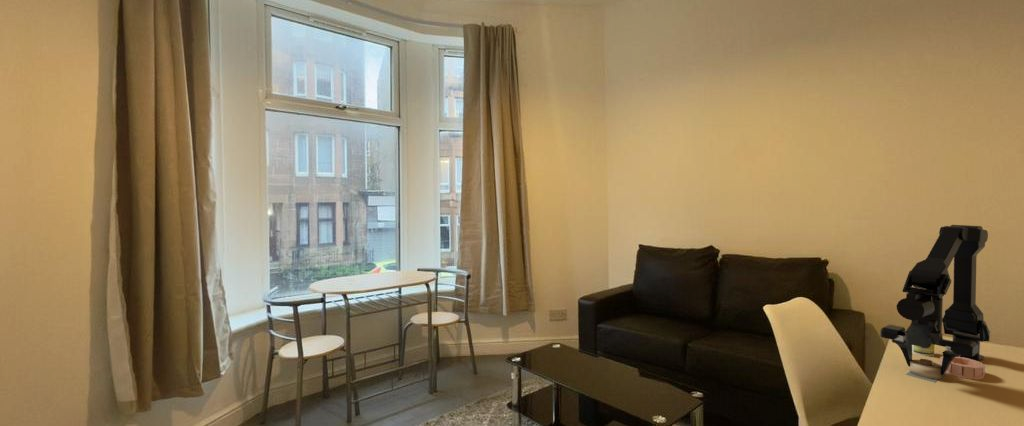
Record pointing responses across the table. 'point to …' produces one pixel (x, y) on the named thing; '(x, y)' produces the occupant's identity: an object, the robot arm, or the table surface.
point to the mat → (922, 377)
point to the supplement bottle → (923, 350)
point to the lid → (925, 369)
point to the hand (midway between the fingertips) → (925, 370)
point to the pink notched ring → (965, 368)
